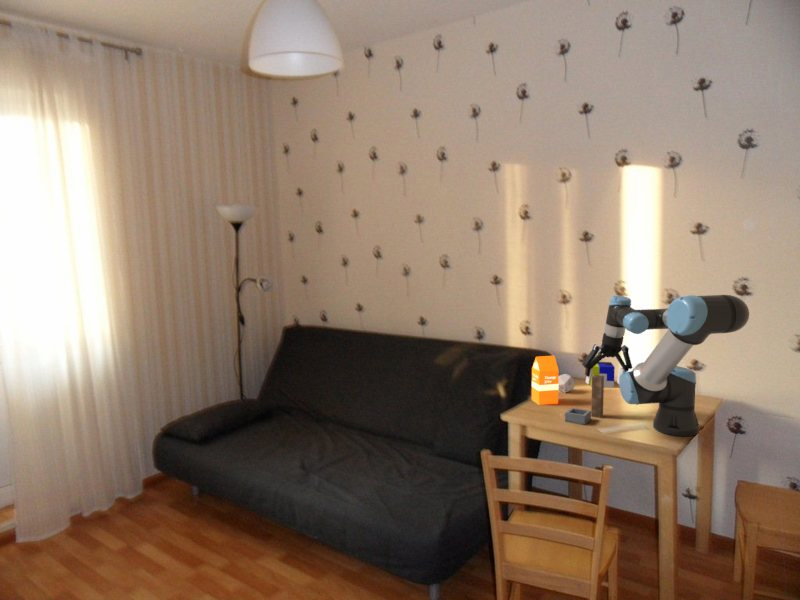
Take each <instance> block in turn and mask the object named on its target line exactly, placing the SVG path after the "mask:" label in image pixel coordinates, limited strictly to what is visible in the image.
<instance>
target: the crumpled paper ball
mask: <svg viewBox="0 0 800 600" xmlns="http://www.w3.org/2000/svg"><path fill="white" fill-rule="evenodd" d="M575 381H576V380H575V379H574V378H573V377H572V376H571V375H569V374H567V373H564V374H560V375H558V391H560V392H562V393H563V392H564V393H563V394H566V392H567V393H569V391H570V392H572V391H573V390H574V388H575V383H576V382H575Z"/></svg>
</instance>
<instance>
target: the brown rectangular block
mask: <svg viewBox="0 0 800 600" xmlns="http://www.w3.org/2000/svg"><path fill="white" fill-rule="evenodd" d="M604 391H605V388H604V376H599V375H594V376H593V377H592V387H591V408H590V409H591V410H590V411H591V418H592V417H593V418H599V419H601V418H602V417H603V416H604V393H605V392H604Z"/></svg>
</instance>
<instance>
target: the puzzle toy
mask: <svg viewBox="0 0 800 600" xmlns="http://www.w3.org/2000/svg"><path fill="white" fill-rule="evenodd" d="M592 369H593V373H592V377H593V376H594V375H599V376H604V389H605V388H606V389H607V388H608V389H614V388H615V365H613V363H612V362H611V361H610V362H609V361H599V362H598V363H597V364H596V365H595V366H594V367H593V368H592ZM589 386H590V387H591V388H592V378H591V383H590V385H589Z"/></svg>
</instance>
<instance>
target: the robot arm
mask: <svg viewBox="0 0 800 600" xmlns="http://www.w3.org/2000/svg"><path fill="white" fill-rule="evenodd" d="M631 306H632V300H631V299H630V298H629V297H627V296H624V295H612V296H611V298H610V301H609V304H608V309H607V315H606V320H605V324H604V329H603V330H604V331H603V334H602V340H601V345H598V344H593V346H592V350H591V351H590V352H589V353H588V355H587V356H586V358H585V359H584V360H583V362H582V363H581V365H582V366H583V367H584V369H585V372H584V374H585V376H586V378H585V383H586V384H587V385H589V386H591V385H590V383H591V378H592V373H593V369H592V368H593V367H594V366H595V365H596V364H597V363H598V362H601V360H603V359H606V358H615V359H616V360H617V362H618V363H619V364H620V366H621V367H619V371H618V376H617V380H616V383H617V384H618V385H619V386H618V387H619V391H620V394H621V396H622V398H623V401H624V402H625V403H627V404H628V405H636V406H638V405H649V404H650V405H651V404H658V409H657V411H656V413H655V417H654V419H653V421H652V424H653V425H652V426H653V429H654V430H656V431H658V432H660V433H663V434H665V435H671V436H677V437H692V436H696V435H698V434H699V433H700V424H699V421H698V418H697V415H696V411H695V406H696V405H695V402H696V385H697V377H696V375H697V374H696V372H695V371H693V370H692V369H689V368H686V367H682V366H678V364H679V363H680V362H682V360H683V359H684V357H686V355H687V354H688V353H689V352H690V350H691V349H692V348H693V346H698V345H701V344H702V343H704V342H705V341H706V340H707V338H708V337H709V336H710V335H713V334H714V335H715V334H716V335H717V334H729V333H734V332H737V331H740V330H741V329H743V328H744V327H745V326H746V324H747V323H748V321H749V319H750V310H749V307H748V305H747V303H746V302H745V301H743V300H742V299H741V298H739V297H738V296H735V295H731V294H730V295H729V294H714V295H713V294H711V295H710V294H709V295H691V294H690V295H687V296H679V297H677V298H675V299H674V300H672V302H671V303H669V306H668V308H653V309H652V308H650V309H649V308H647V309H635V308H633V307H631ZM626 330H627V331H628V332H631V333H632V334H635V335H639V334H642V333H643V332H646V331H647V330H667V331H666V333H664V335H663V336H662V338H661V339H660V340H659V342H658V343H657V344H656V346H655V347H654V349H653V350H652V351H651V353H650V354H649V355H648V357H646V359H645V361H644V362H640V363H638V364H636V365H635V366H634V367H633V364H632V361H631V357H630V354H629V351H630V350H629V349H630V348H629V347H628V346H627V345H626V344H625V345H623V342H624V336H625V332H626ZM621 351H622V355H623V358H624V360H623V358H622V356H621V355H620V352H621ZM624 361H625V362H624ZM632 368H633V369H632ZM629 370H631V371H629Z"/></svg>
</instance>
